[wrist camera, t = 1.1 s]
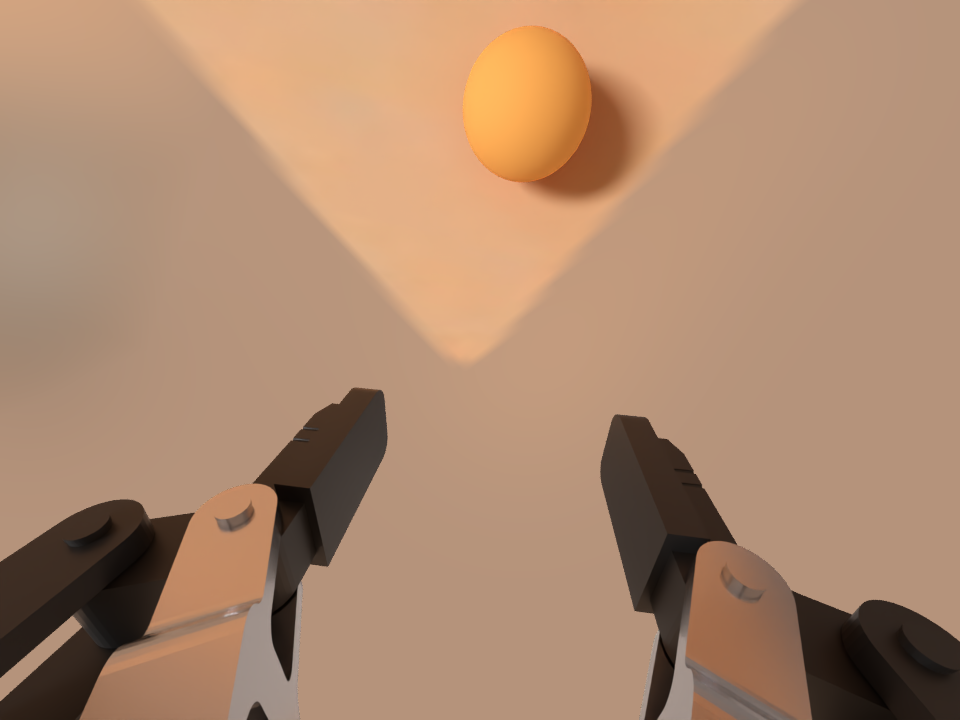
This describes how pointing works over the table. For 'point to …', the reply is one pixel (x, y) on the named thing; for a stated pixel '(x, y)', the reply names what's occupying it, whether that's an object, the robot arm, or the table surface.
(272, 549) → the robot arm
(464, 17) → the table surface
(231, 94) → the table surface
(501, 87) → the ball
